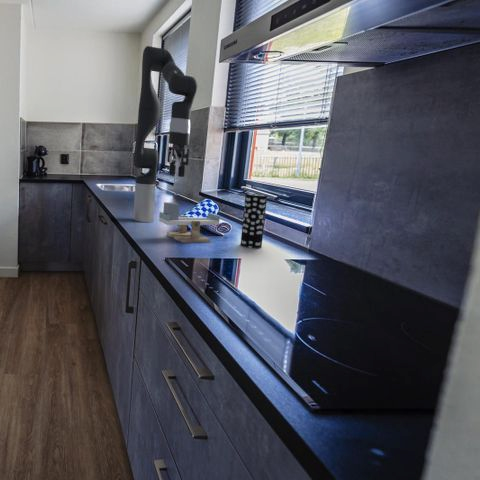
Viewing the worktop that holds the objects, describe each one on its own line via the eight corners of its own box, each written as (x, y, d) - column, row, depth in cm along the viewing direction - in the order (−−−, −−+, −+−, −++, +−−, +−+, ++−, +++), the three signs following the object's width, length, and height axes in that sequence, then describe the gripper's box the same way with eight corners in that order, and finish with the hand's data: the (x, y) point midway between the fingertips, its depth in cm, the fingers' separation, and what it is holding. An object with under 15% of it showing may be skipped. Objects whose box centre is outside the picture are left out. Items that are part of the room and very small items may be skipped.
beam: (158, 220, 167) (159, 211, 166) (208, 220, 179) (209, 212, 178) (167, 225, 160) (168, 215, 159) (219, 224, 171) (220, 216, 171)
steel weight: (163, 217, 166) (163, 202, 164) (173, 217, 168) (174, 202, 167) (167, 219, 162) (168, 204, 161) (178, 219, 164) (179, 204, 163)
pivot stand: (167, 235, 173) (168, 215, 171) (194, 234, 179) (195, 215, 178) (181, 242, 161) (183, 221, 160) (209, 242, 168) (211, 221, 166)
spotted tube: (262, 244, 173) (267, 195, 169) (260, 249, 164) (266, 196, 161) (241, 242, 173) (246, 192, 169) (239, 246, 165) (244, 194, 161)
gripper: (162, 130, 164) (160, 173, 167) (178, 130, 152) (174, 176, 155) (181, 132, 168) (177, 174, 171) (197, 133, 156) (193, 178, 159)
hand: (176, 175), depth 163 cm, fingers open, 8 cm apart
